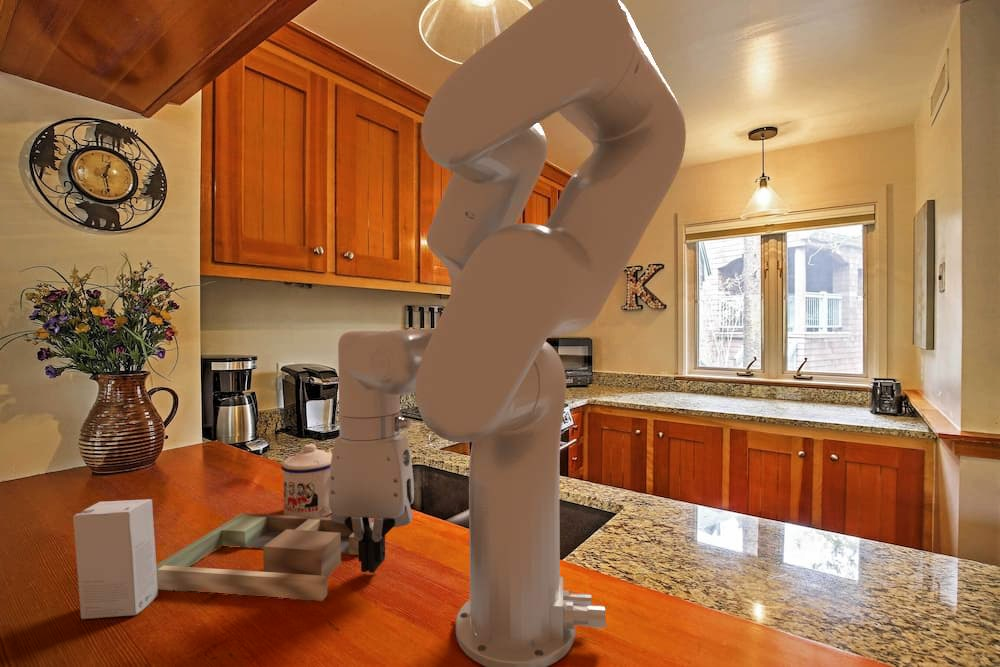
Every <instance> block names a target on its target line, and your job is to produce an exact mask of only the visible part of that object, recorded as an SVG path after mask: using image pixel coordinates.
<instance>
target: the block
mask: <svg viewBox="0 0 1000 667" xmlns="http://www.w3.org/2000/svg"><path fill="white" fill-rule="evenodd" d="M262 555H263V556H262V559H263V562H262V563H263V572H274V573H289V574H305V575H320V576H327V577H328V576H329V575H330V574H331V573H332V571H333V570H334V569H335V568H337V567H338V566H339V564H341V565H342V554H341V533H337V532H321V531H306V530H290V529H286V530H285V531H284V532H282V533H281V534H279V535H278V536H277V537H275V538H274V539H273V540H271V541H270V542H268V543H267V544H266V545H264V546H263V549H262ZM339 567H340V566H339ZM339 567H338V568H339ZM338 568H337V569H338ZM332 574H333V573H332ZM332 574H331V575H332ZM331 575H330V576H331ZM330 576H329V577H330ZM329 577H328V578H329Z"/></svg>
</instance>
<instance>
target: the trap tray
mask: <svg viewBox="0 0 1000 667" xmlns="http://www.w3.org/2000/svg"><path fill="white" fill-rule="evenodd" d="M370 519H371V526H372V528H371V529H372V531H373V524H374V518H370ZM286 529H290V530H306V531H321V532H337V533H341V555H356V556H357V555H358V556H359V554H358V541H357V540H356V539H355V538H354V533H353V532H352V531H351V530H350V529H349V528H348V527H347V526H346V524H341V523H338V522H335V521H332V520H331V518H330V517H329V516H325V517H313V516H292V515H284V514H267V513H266V514H265V513H263V514H262V513H251V512H250V513H247V512H245V513H244V512H241V513H240V514H238V515H236V516H234V517H233V518H231V519H230V520H228V521H226V522H225V523H222V524H221V525H220V526H218V527H216V528H214V529H213V530H211V531H209V532H208V533H206V534H205V535H203V536H201V537H199V538H198V539H196V540H195V541H192V542H191V543H190V544H188V545H186V546H185V547H183V548H181V549H180V550H177V551H176V552H175V553H173V554H171V555H169V556H168V557H166V558H165V559H163V560H161V561H160V562H158V563H156V569H157V586H158V591H159V590H160V591H161V590H162V591H173V590H175V592H187V591H210V592H218V593H229V594H231V593H232V594H240V595H239V596H242V595H260V596H261V595H262V596H271V597H272V596H273V597H279V598H278V599H283V598H290V599H289V600H297V599H298V600H299V599H300V600H301V601H311V600H319V601H318V602H323V601H322V600H324V599H325V598H326V597H327V595H328V578H327V576H320V575H305V574H289V573H274V572H264V571H260V570H259V571H257V570H255V571H254V570H241V569H226V568H210V567H209V568H208V567H196V566H195V567H194V566H192V567H189V566H191V565H193V564H194V563H196V562H197V561H199V560H200V559H202V558H203V557H204V556H206V555H207V554H209V553H211V552H212V551H214V550H215V549H217V548H219V547H220V546H221V545H227V546H240V547H252V548H263V546H264V545H266V544H267V543H268V542H270V541H271V540H273V539H274V538H275V537H277V536H278V535H279V534H281V533H282V532H284V531H285V530H286ZM219 549H220V548H219ZM178 590H179V591H178ZM241 594H242V595H241ZM280 597H281V598H280ZM327 598H328V597H327ZM327 598H326V599H327ZM326 599H325V600H326ZM300 600H299V601H300ZM325 600H324V601H325Z"/></svg>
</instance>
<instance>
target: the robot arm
mask: <svg viewBox="0 0 1000 667" xmlns="http://www.w3.org/2000/svg"><path fill="white" fill-rule="evenodd" d="M435 91H436V92H435V93H434V94H433V96H432V97H431V99H430V100H429V103H428V105H427V107H426V108H425V112H424V114H423V118H422V123H421V139H422V144H423V148H424V150H425V152H426V154H427V156H428V157H429V158H430V160H432V161H433V163H434V164H437V165H438V166H440V167H442V168H443V169H445V170H448V171H450V172H451V175H450V178H449V180H448V183H447V185H446V188H445V189H444V192H443V195H442V197H441V199H440V202H439V204H438V207H437V209H436V212H435V214H434V217H433V218H432V221H431V224H430V226H429V228H428V230H427V232H426V240H425V241H426V244H427V247H428V249H429V251H430V252H432V254H433V255H434V256H435V257H436V258H437V259H438V260H440V261H441V263H442V264H443V265H444V267H445V269H446V271H447V274H448V276H449V281H450V293H449V294H450V295H449V298H448V299H447V302H446V304H445V307H444V308H443V310H442V313H441V315H440V317H439V319H438V322H437V324H436V326H435V328H415V329H396V330H388V331H387V330H356V331H354V330H353V331H348V332H345V333H343V334H341V336H340V338H339V340H338V344H337V345H338V346H337V349H338V351H337V352H338V358H337V359H338V410H339V411H338V413H339V414H338V415H339V416H338V418H339V420H338V423H339V436H337V437H336V438H335V439H334V444H333V447H332V448H333V449H332V453H331V454H332V458H331V466H330V476H329V506H330V510H331V511H332V512H331V514H330V515H329V516H330V518H331V520H332V521H335V522H338V523H341V524H346V526H347V527H348V528H349V529H350V530H351V531H352V532H353V533H354V538H355V539H356V540H357V541H358V554H359V555H358V562H360V569H361V573H367V572H369V573H372V574H374V573H375V572H376V571H377V569H378V568H379V567H380V565H381V564H382V563H383V562H384V561H385V558H386V535H387V534H388V533H389V532H390V531H391V530H392V529H393V528H398V527H403V526H408V525H409V524H410V523H411V522H412V521H413V519H414V518H413V517H414V516H413V512H412V508H411V505H413V504H414V500H415V485H414V484H415V483H414V473H413V464H412V457H411V456H412V455H411V449H410V445H409V440H408V435H407V434H405V433H401V432H402V431H403V430H409V429H410V428H411V425H412V424H411V419H410V418H408V417H407V418H406V417H403V415H402V411H401V402H400V401H401V399H400V397H401V396H404V395H410V394H415V401H416V405H417V409H418V413H419V415H420V417H421V420H422V421H423V423H424V425H425V426H426V427H427V428H428V429H429V430H430V431H431V432H432V433H433V434H435V435H436V436H438V437H439V438H441V439H444V440H446V441H449V442H452V443H460V444H462V443H463V444H467V443H468V444H469V443H471V449H470V453H469V454H470V455H469V466H468V516H469V517H468V521H469V524H468V525H469V526H468V529H469V530H468V532H469V534H468V535H469V536H468V537H469V600H467V601H466V602H465V603H464V605H462V606H461V608H460V609H459V611H458V613H457V615H456V619H455V635H456V641H457V643H458V644H459V648H460V649H461V650H462V651H463V652H464V653H465V655H467V656H468V657H469V658H470V659H472V660H473V661H474V662H476V663H478V664H479V665H481V666H484V667H549V666H551V665H553V664H556V663H557V662H558V661H559V660H561V659H562V658H563V657H565V656H566V655H567V653H569V651H570V650H571V648H572V646H573V644H574V641H575V637H576V626H585V627H589V628H601V629H606V626H607V623H606V620H607V619H606V617H607V616H606V608H605V605H595V604H592V593H570V590H565V589H564V578H563V576H561V566H560V565H561V564H560V563H561V562H560V561H561V560H560V558H561V554H560V553H561V549H560V548H561V547H560V546H561V543H560V542H561V541H560V536H561V534H560V532H561V530H560V519H561V518H560V487H561V486H560V483H561V482H560V480H561V479H560V471H561V470H560V469H561V468H560V467H561V466H560V465H561V464H560V457H561V455H560V454H561V438H562V437H561V436H562V426H563V420H564V419H563V418H564V411H565V404H566V396H567V378H566V372H565V368H564V364H563V361H562V359H561V357H560V355H559V353H557V351H556V350H555V348H554V347H553V346H552V345H551V344H550V343H549V342H547V339H549V337H558V336H566V335H571V334H575V333H579V332H580V331H583V330H584V329H586V328H588V327H589V326H590V325H591V324H593V322H594V321H596V319H597V318H598V316H599V314H600V313H601V312H602V309H603V308H604V305H605V304H606V302H607V300H608V298H609V297H610V295H611V293H612V291H613V289H614V288H615V286H616V284H617V282H618V281H619V279H620V277H621V276H622V274H623V272H624V270H625V269H626V267H627V265H628V263H629V261H630V260H631V258H632V256H633V254H634V253H635V251H636V249H637V247H638V246H639V244H640V242H641V240H642V238H643V235H644V233H646V230H647V228H648V226H649V225H650V223H651V222H652V220H653V218H654V216H655V215H656V213H657V210H658V209H659V207H660V206H661V204H662V202H663V201H664V199H665V197H666V195H667V194H668V193H669V190H670V189H671V186H673V185H672V184H673V182H674V181H675V179H676V177H677V174H678V173H679V170H680V167H681V165H682V162H683V158H684V155H685V154H684V153H685V150H686V138H687V137H686V135H687V134H686V133H687V131H686V130H687V129H686V123H685V116H684V113H683V111H682V108H681V106H680V104H679V101H678V100H677V98H676V96H675V94H674V93H673V92H672V89H671V88H670V86H669V85H668V83H667V81H666V80H665V78H664V76H663V75H662V74H661V72H660V70H659V68H658V66H657V65H656V62H655V61H654V59H653V57H652V54H651V52H650V51H649V48H648V47H647V45H646V44H645V43H644V40H643V38H642V36H641V34H640V32H639V30H638V29H637V27H636V24H635V22H634V20H633V18H632V17H631V15H630V13H629V11H628V9H627V8H626V6H625V5H624V3H623V2H622V1H621V0H542V1H540V2H539V3H537V4H536V5H535V6H533V7H532V8H531V9H530V10H528V11H527V12H526V13H524V14H523V15H522V16H521V17H519V18H518V19H517V20H516V21H515V22H513V23H512V24H511V25H510V26H508V27H507V28H505V29H504V30H503V31H502V32H501V33H500V34H498V35H497V36H495V37H494V38H493V39H492V40H490V41H489V42H486V44H485V45H483V46H482V47H481V48H479V49H478V50H477V51H476V52H475V53H473V54H472V55H471V56H470V57H468V58H467V59H466V60H465V61H464V62H463V63H461V64H460V65H459V66H458V67H457V68H455V70H454V71H453V72H451V74H450V75H449V76H448V77H447V78H446V79H445V80H444V81H443V83H441V85H440V86H439V87H438V89H437V90H435ZM555 113H559V115H561V116H562V118H564V119H565V120H566V121H567V122H569V123H570V124H571V125H572V126H574V128H576V129H577V130H578V131H579V132H580V133H581V134H582V135H583V136H585V137H586V139H588V140H589V141H590V142H591V144H592V147H593V148H592V149H593V150H592V152H591V153H590V155H589V157H587V158H586V159H585V160H584V161H583V162H582V163H581V164H580V165H579V167H578V168H577V169H576V170H575V171H574V172H573V174H572V175H571V177H570V178H569V179H568V182H567V183H566V185H565V186H564V187H563V190H562V193H561V195H560V197H559V199H558V201H557V203H556V205H555V207H554V208H553V210H552V212H551V214H550V216H549V218H548V219H547V221H546V223H545V224H544V225H541V224H537V223H529V222H528V223H522V222H521V223H518V222H519V220H520V218H521V216H522V214H523V213H524V212H523V211H524V210H525V208H526V205H527V203H528V201H529V199H530V197H531V195H532V193H533V190H534V189H535V186H536V184H537V182H538V180H539V177H540V175H541V173H542V171H543V168H544V166H545V163H546V160H547V156H548V141H547V137H546V134H545V132H544V130H543V128H542V125H540V123H541V122H543V121H544V120H546V119H548V118H549V117H550V116H552V115H554V114H555ZM371 519H374V524H373V531H372V529H371V528H372V526H371Z"/></svg>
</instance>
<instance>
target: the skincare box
mask: <svg viewBox="0 0 1000 667" xmlns="http://www.w3.org/2000/svg"><path fill="white" fill-rule="evenodd" d="M153 510H154V509H153V499H151V498H150V499H149V498H148V499H131V500H130V499H129V500H127V499H126V500H113V501H111V500H109V501H108V500H107V501H98V502H97V503H94V504H93V505H91V506H89V507H87V508H84V509H83V510H81V511H80V512H77V513H76V514H74V515H73V516H72V522H73V531H74V534H73V535H74V544H75V556H76V570H77V571H76V572H77V585H78V595H79V596H78V597H79V610H80V612H79V613H80V618H81V620H86V619H100V618H101V619H102V618H103V619H104V618H114V617H129V616H136V615H138V614H139V613H141V612H142V611H143V610H144V609H145V608H146V607H148V606H149V605H150V604H151V603H152V602H153V601H154V600H155V599H156V598H157V597H158V596H159V589H158V586H157V569H156V564H157V558H156V557H157V556H156V542H155V527H154V514H153V513H154V512H153Z"/></svg>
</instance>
